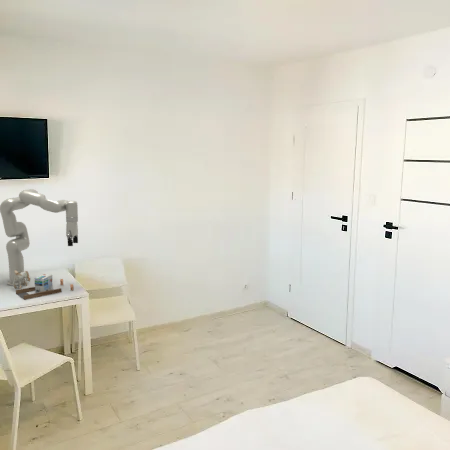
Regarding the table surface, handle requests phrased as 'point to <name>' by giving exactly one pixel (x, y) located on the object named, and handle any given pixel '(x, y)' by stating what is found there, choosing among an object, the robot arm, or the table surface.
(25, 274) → the unicorn figurine
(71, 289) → the posts
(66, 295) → the table surface
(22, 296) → the mat
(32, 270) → the table surface
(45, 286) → the light bulb box
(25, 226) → the robot arm
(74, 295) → the table surface
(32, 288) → the guide channel
